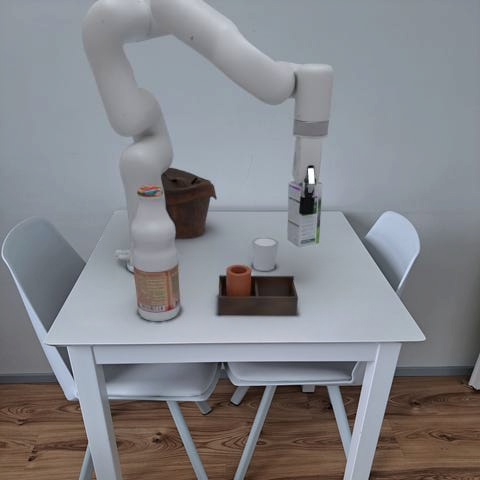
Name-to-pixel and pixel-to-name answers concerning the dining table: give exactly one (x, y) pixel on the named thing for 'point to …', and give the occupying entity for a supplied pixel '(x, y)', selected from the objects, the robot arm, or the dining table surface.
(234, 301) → the spice rack
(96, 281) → the dining table surface
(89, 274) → the dining table surface
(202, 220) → the brown tapered bucket
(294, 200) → the syrup box
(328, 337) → the dining table surface
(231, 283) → the orange hollow cylinder
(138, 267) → the fruit juice
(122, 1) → the robot arm
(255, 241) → the white tapered cylinder
